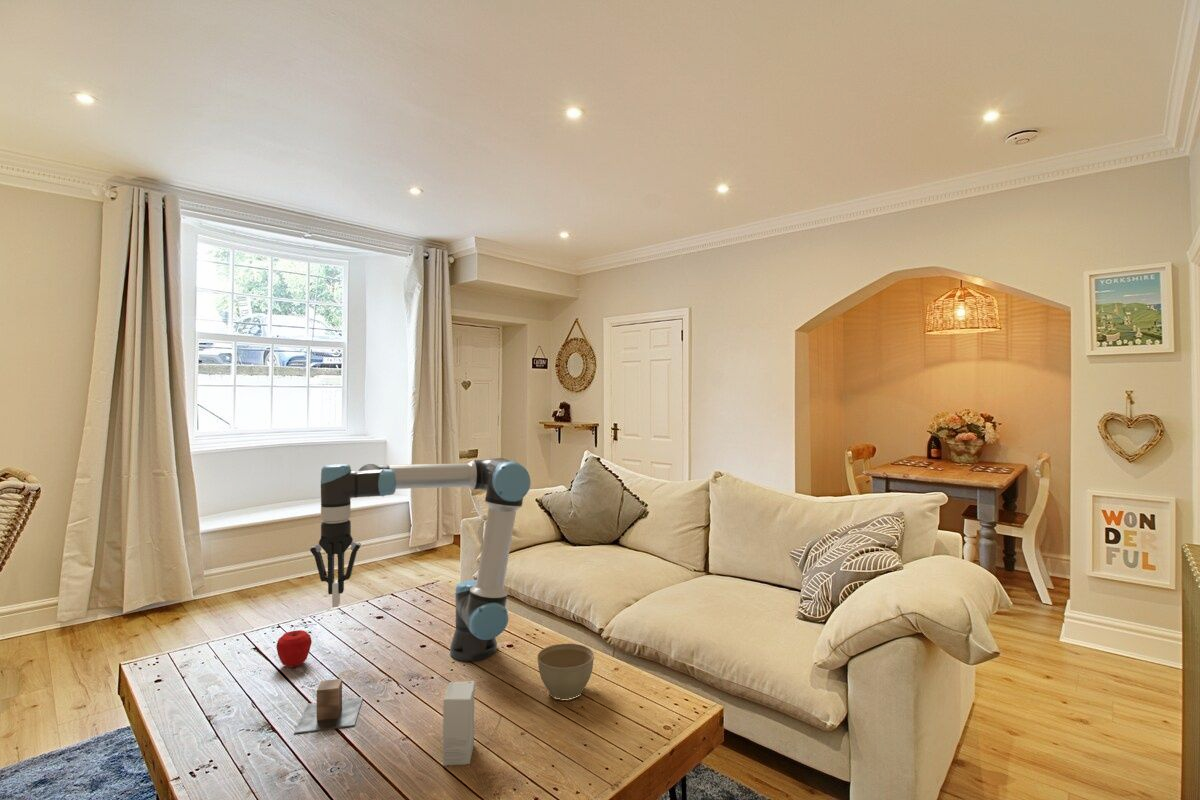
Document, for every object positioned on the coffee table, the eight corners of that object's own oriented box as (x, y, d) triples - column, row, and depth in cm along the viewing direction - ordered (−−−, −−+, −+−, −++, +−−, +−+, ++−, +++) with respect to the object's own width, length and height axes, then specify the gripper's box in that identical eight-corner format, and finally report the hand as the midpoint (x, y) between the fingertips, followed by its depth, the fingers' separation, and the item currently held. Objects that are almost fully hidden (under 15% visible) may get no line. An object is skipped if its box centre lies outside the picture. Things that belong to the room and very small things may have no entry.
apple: (269, 669, 178) (269, 634, 178) (296, 656, 187) (295, 622, 187) (292, 675, 174) (292, 639, 174) (318, 661, 183) (318, 627, 183)
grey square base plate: (362, 698, 161) (362, 675, 161) (354, 726, 147) (354, 701, 147) (308, 705, 157) (307, 681, 157) (294, 734, 144) (294, 708, 144)
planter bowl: (603, 685, 168) (603, 648, 168) (578, 713, 153) (578, 672, 153) (555, 674, 175) (555, 638, 175) (526, 700, 160) (526, 661, 160)
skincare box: (448, 745, 139) (448, 680, 139) (476, 743, 140) (475, 679, 140) (441, 767, 131) (441, 699, 131) (471, 765, 132) (471, 697, 131)
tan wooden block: (342, 707, 155) (342, 678, 155) (338, 717, 150) (338, 688, 150) (321, 710, 154) (321, 681, 154) (316, 720, 149) (316, 690, 149)
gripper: (363, 516, 165) (363, 598, 165) (313, 518, 162) (313, 602, 162) (358, 521, 158) (359, 607, 158) (306, 524, 155) (307, 612, 155)
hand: (336, 605), depth 160 cm, fingers closed
